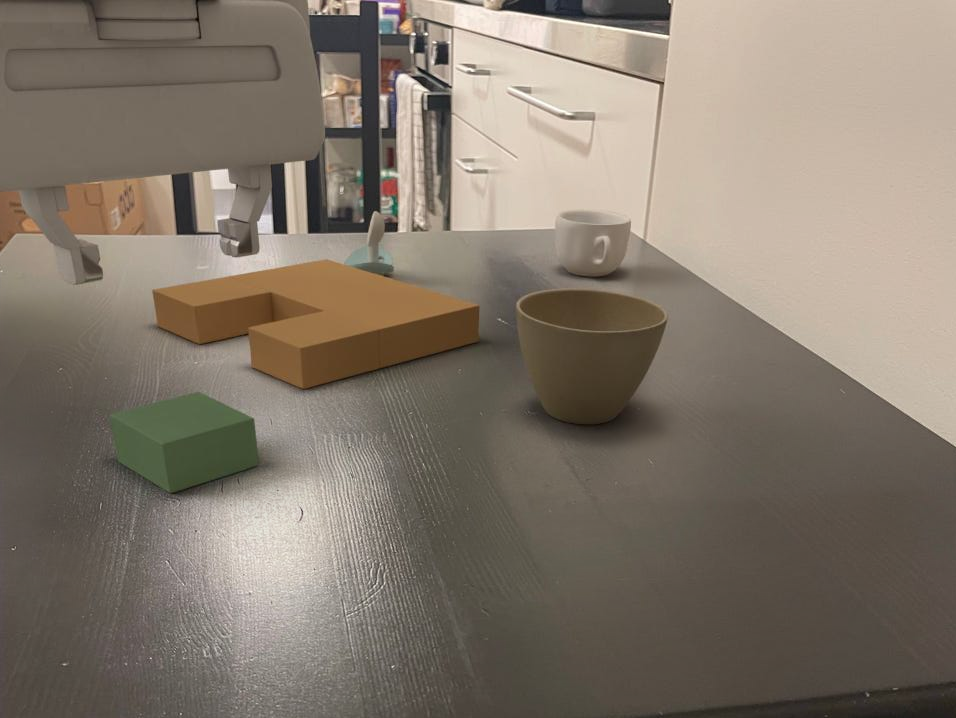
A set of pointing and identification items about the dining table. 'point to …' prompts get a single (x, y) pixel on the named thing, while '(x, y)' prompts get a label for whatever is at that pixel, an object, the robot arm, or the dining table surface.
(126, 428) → the green block
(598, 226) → the teacup
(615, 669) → the dining table surface
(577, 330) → the bowl
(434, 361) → the dining table surface
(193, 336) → the brown notched block
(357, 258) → the pacifier
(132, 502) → the dining table surface
